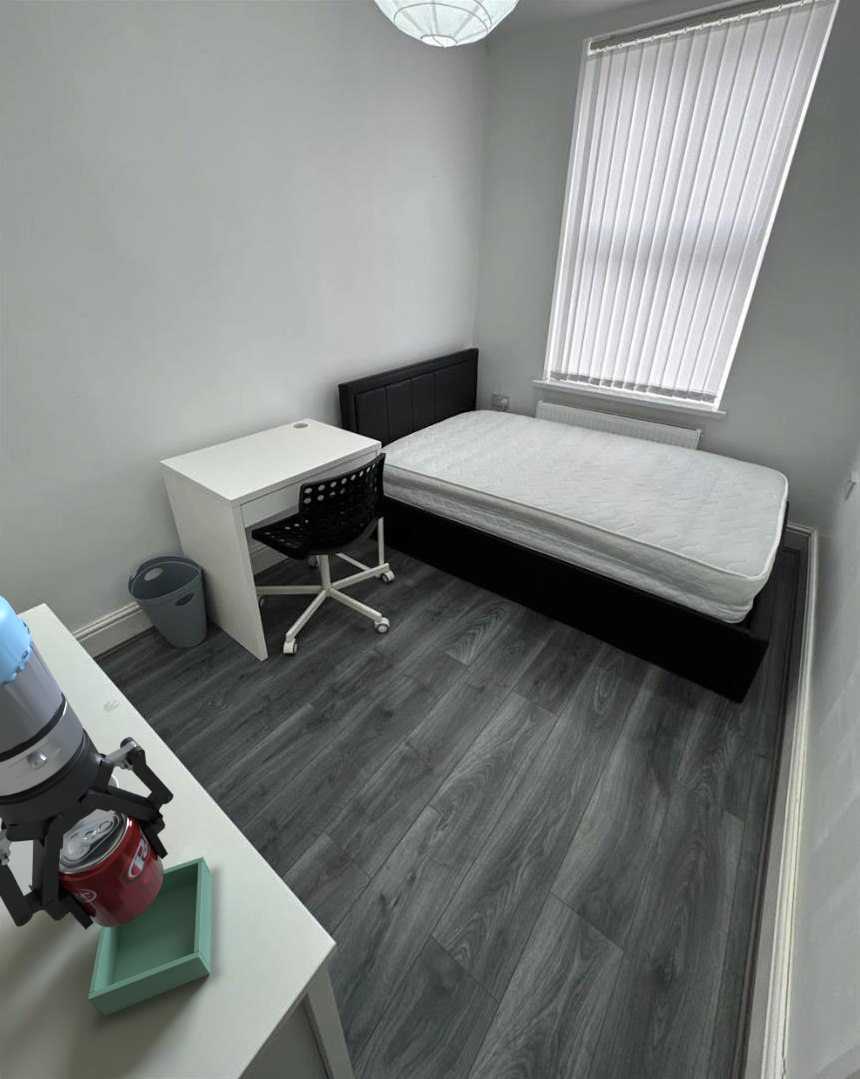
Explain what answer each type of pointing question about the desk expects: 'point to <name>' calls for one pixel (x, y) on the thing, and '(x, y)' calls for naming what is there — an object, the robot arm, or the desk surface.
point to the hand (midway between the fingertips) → (123, 881)
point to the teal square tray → (157, 942)
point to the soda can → (110, 867)
